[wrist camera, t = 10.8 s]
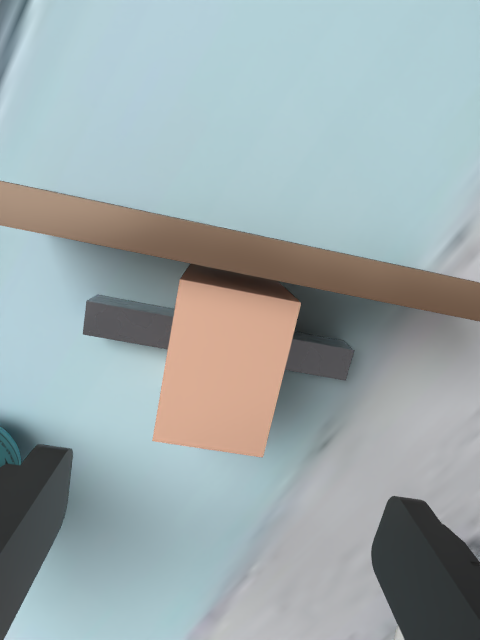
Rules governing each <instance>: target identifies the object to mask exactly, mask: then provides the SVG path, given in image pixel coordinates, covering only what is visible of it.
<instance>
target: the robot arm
mask: <svg viewBox="0 0 480 640" xmlns="http://www.w3.org/2000/svg"><path fill="white" fill-rule="evenodd" d="M72 458H73V451H72V449H70V448H63V447H56V446H49V445H42V444H38V445H37V446H35V448H34V449H33V450H32V451H31V452H30V454H29V455H28V456H27V457H26V459H25V460H24V461H23V462H22V464H21V465H14V464H7V463H6V464H5V465H3V466H1V467H0V640H4V638H5V636H6V634H7V632H8V630H9V628H10V626H11V624H12V622H13V620H14V618H15V616H16V614H17V612H18V610H19V609H20V607H21V605H22V603H23V601H24V599H25V597H26V595H27V593H28V591H29V589H30V587H31V585H32V583H33V581H34V579H35V577H36V575H37V573H38V571H39V569H40V568H41V566H42V564H43V562H44V560H45V558H46V556H47V554H48V552H49V550H50V548H51V546H52V544H53V542H54V540H55V538H56V536H57V534H58V532H59V530H60V528H61V525H62V522H63V519H64V516H65V512H66V508H67V502H68V494H69V485H70V476H71V467H72ZM371 556H372V565H373V569H374V572H375V574H376V577H377V579H378V581H379V583H380V586H381V588H382V590H383V592H384V595H385V597H386V599H387V601H388V604H389V606H390V608H391V610H392V613H393V615H394V617H395V619H396V622H397V624H398V626H399V628H400V631H401V633H402V635H403V637H404V640H480V562H479V561H478V559H477V558H476V557H475V556H474V554H473V553H472V552H471V550H470V549H469V548H468V546H467V545H466V544H465V542H463V541H462V540H461V539H460V538H459V537H458V536H457V535H455V534H454V533H453V532H452V531H451V530H450V529H449V528H447V527H446V526H445V525H443V524H442V523H441V522H440V521H439V519H438V518H437V517H436V515H435V514H434V512H433V511H432V510H431V508H430V507H429V506H428V504H427V503H426V502H424V501H423V500H418V499H411V498H404V497H397V496H392V497H391V498H390V499H389V500H388V502H387V504H386V507H385V510H384V513H383V516H382V518H381V521H380V524H379V527H378V530H377V532H376V535H375V538H374V541H373V544H372V551H371Z"/></svg>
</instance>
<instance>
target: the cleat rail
mask: <svg viewBox="0 0 480 640" xmlns="http://www.w3.org/2000/svg"><path fill="white" fill-rule="evenodd" d="M174 311H175V309H172V308H166V307H161V306H156V305H150V304H145V303H140V302H134V301H129V300H123V299H118V298H113V297H107V296H102V295H96V296H94V297H93V298H91V299H89V300H87V302H86V311H85V319H84V328H83V334H84V335H89V336H95V337H101V338H107V339H112V340H118V341H124V342H129V343H135V344H141V345H146V346H152V347H158V348H164V349H168V346H169V340H170V334H171V328H172V322H173V317H174ZM353 353H354V350H353V349H352V348H351V347H350V346H349V345H348V344H347V343H346V342H345V341H343V340H337V339H332V338H327V337H321V336H316V335H311V334H305V333H300V332H295V331H294V334H293V338H292V342H291V346H290V350H289V354H288V358H287V362H286V366H285V370H289V371H295V372H300V373H306V374H312V375H318V376H323V377H329V378H335V379H340V380H346V377H347V374H348V370H349V367H350V363H351V360H352V357H353Z"/></svg>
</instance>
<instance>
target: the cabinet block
mask: <svg viewBox="0 0 480 640" xmlns="http://www.w3.org/2000/svg"><path fill="white" fill-rule="evenodd" d="M300 306H301V302H300V301H299V300H298V299H297V298H295V297H294V296H293V295H292V294H291V293H290V292H289V291H288V290H287V289H286V288H285V287H284V286H283V285H281V284H280V283H279V282H278V281H276V280H271V279H266V278H261V277H256V276H251V275H246V274H241V273H236V272H231V271H226V270H221V269H216V268H211V267H206V266H201V265H196V264H190V265H189V267H188V268H187V270H186V271H185V272H184V274H183V275H182V277H181V278H180V281H179V287H178V293H177V299H176V305H175V311H174V317H173V322H172V328H171V334H170V340H169V346H168V352H167V358H166V364H165V370H164V375H163V381H162V387H161V393H160V399H159V405H158V411H157V417H156V423H155V429H154V434H153V440H152V441H156V442H162V443H169V444H176V445H183V446H189V447H196V448H203V449H210V450H216V451H223V452H230V453H236V454H243V455H250V456H257V457H263V455H264V451H265V447H266V443H267V439H268V435H269V431H270V427H271V423H272V419H273V415H274V411H275V407H276V403H277V399H278V395H279V391H280V387H281V383H282V379H283V375H284V370H285V366H286V362H287V358H288V354H289V350H290V346H291V342H292V338H293V334H294V330H295V326H296V322H297V318H298V314H299V310H300Z"/></svg>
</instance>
